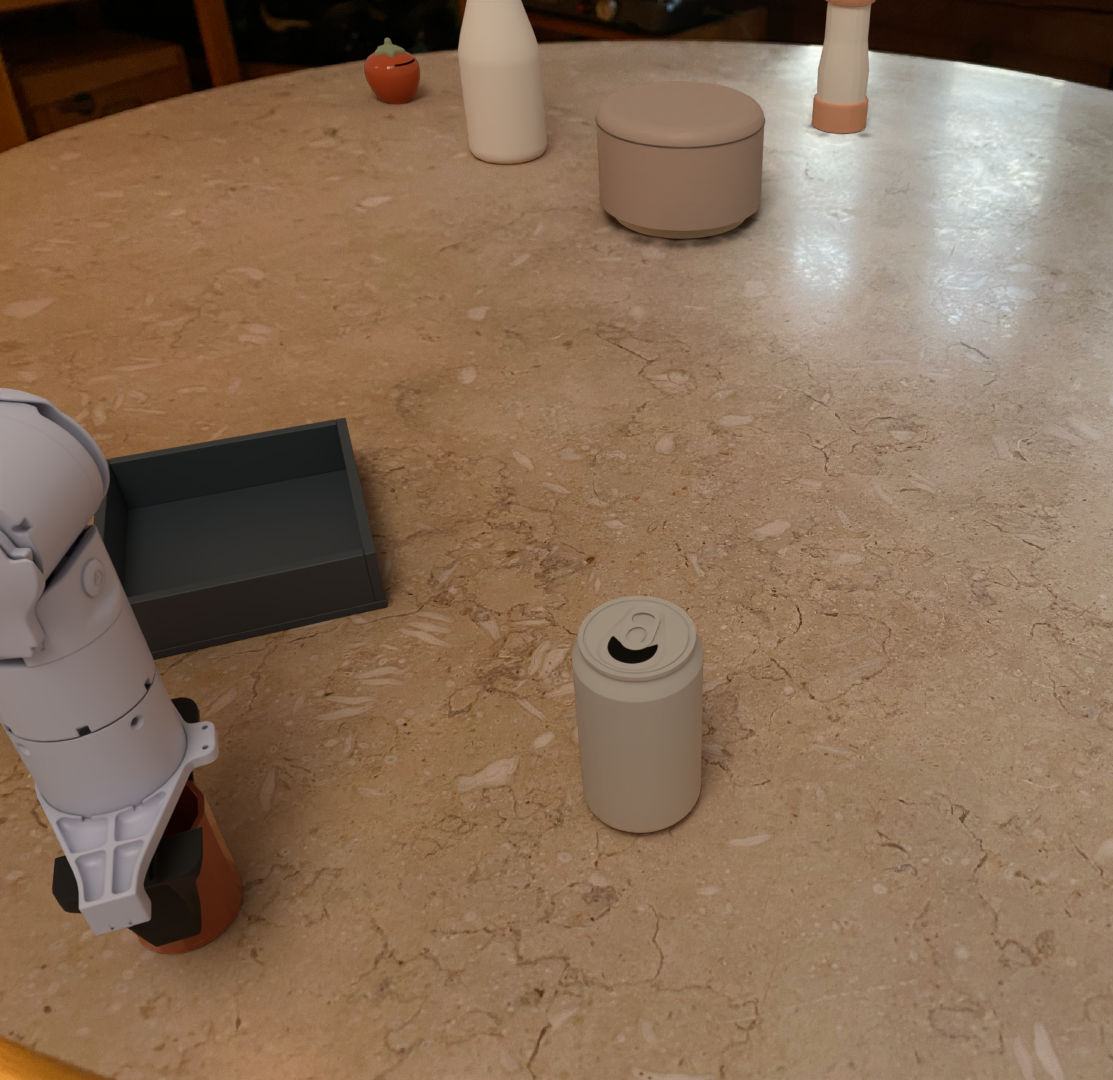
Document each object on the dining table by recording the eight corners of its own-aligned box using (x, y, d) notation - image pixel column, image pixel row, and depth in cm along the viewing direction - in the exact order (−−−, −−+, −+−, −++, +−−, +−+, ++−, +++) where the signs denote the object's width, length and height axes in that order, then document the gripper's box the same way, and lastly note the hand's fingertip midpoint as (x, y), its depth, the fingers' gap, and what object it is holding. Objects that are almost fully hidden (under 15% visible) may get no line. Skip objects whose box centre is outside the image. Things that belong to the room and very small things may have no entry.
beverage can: (567, 827, 57) (549, 667, 50) (605, 736, 62) (595, 578, 55) (683, 853, 56) (684, 694, 49) (713, 759, 61) (718, 601, 54)
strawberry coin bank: (397, 111, 146) (387, 48, 141) (357, 101, 149) (346, 39, 144) (435, 97, 151) (427, 36, 146) (396, 88, 154) (386, 27, 149)
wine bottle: (527, 170, 130) (501, -120, 112) (456, 160, 133) (418, -126, 114) (560, 145, 138) (540, -132, 119) (492, 135, 140) (462, -138, 121)
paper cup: (132, 969, 51) (80, 883, 46) (135, 880, 55) (87, 792, 50) (245, 935, 52) (205, 848, 48) (241, 850, 56) (203, 762, 52)
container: (789, 228, 119) (796, 118, 111) (636, 255, 112) (633, 141, 105) (718, 172, 131) (720, 70, 124) (577, 194, 125) (570, 88, 118)
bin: (110, 669, 66) (84, 613, 63) (120, 513, 77) (98, 460, 75) (388, 606, 70) (375, 552, 68) (357, 468, 82) (345, 417, 79)
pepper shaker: (801, 125, 145) (811, -34, 133) (830, 112, 150) (843, -43, 138) (847, 137, 142) (862, -25, 130) (876, 123, 146) (893, -35, 134)
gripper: (187, 798, 39) (275, 991, 48) (184, 556, 50) (257, 750, 58) (-33, 856, 37) (100, 1047, 46) (11, 591, 48) (113, 787, 56)
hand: (177, 884), depth 52 cm, fingers closed on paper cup, 5 cm apart
